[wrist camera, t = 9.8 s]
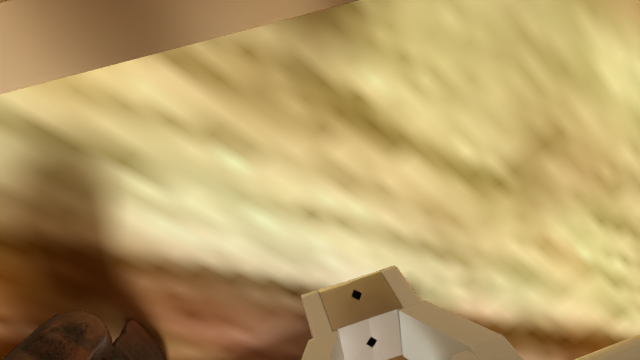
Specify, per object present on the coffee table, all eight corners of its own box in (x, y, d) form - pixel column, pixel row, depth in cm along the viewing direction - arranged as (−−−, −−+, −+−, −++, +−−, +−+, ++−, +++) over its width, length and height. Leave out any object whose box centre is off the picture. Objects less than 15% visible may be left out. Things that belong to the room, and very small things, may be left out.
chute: (340, -66, 13) (374, -83, 11) (406, 344, 24) (432, 386, 21) (-96, 35, 11) (-185, 44, 9) (184, 437, 21) (181, 497, 19)
